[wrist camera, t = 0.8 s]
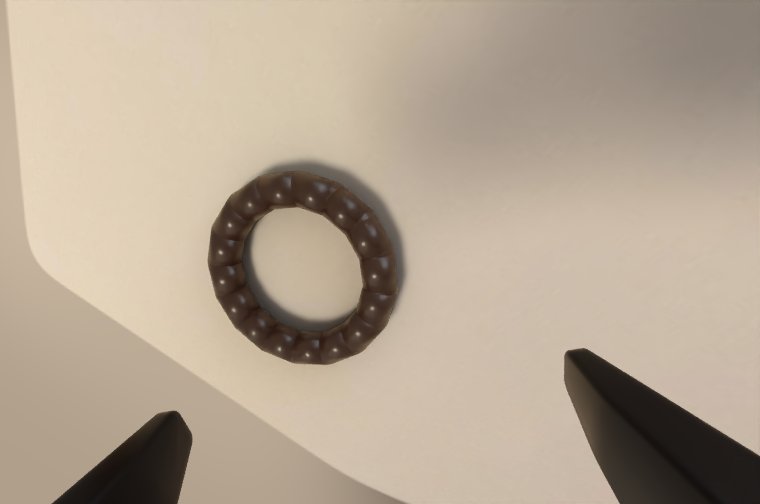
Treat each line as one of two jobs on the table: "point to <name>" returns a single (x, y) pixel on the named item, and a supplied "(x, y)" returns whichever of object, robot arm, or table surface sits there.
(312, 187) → the ring
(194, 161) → the table surface
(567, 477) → the table surface
